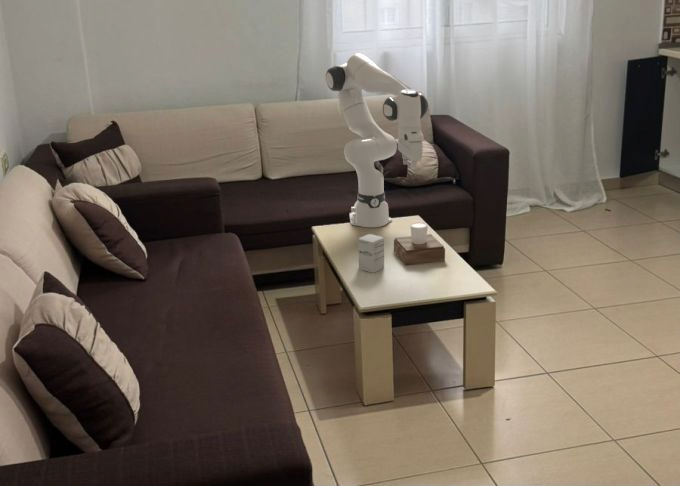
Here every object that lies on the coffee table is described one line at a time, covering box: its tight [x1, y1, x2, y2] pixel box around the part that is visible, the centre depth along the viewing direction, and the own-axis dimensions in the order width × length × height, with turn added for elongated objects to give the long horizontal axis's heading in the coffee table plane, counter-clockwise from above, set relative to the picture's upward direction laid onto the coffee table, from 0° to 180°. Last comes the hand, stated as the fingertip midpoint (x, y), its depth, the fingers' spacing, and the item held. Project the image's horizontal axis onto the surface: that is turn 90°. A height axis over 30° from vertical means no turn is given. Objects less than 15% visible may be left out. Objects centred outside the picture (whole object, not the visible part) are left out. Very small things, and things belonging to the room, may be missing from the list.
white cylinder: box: [410, 222, 429, 244], centre depth 339 cm, size 7×7×7 cm
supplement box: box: [358, 233, 385, 274], centre depth 329 cm, size 7×7×13 cm
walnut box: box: [393, 233, 446, 266], centre depth 341 cm, size 16×16×6 cm
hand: (409, 167), depth 340 cm, fingers open, 8 cm apart
